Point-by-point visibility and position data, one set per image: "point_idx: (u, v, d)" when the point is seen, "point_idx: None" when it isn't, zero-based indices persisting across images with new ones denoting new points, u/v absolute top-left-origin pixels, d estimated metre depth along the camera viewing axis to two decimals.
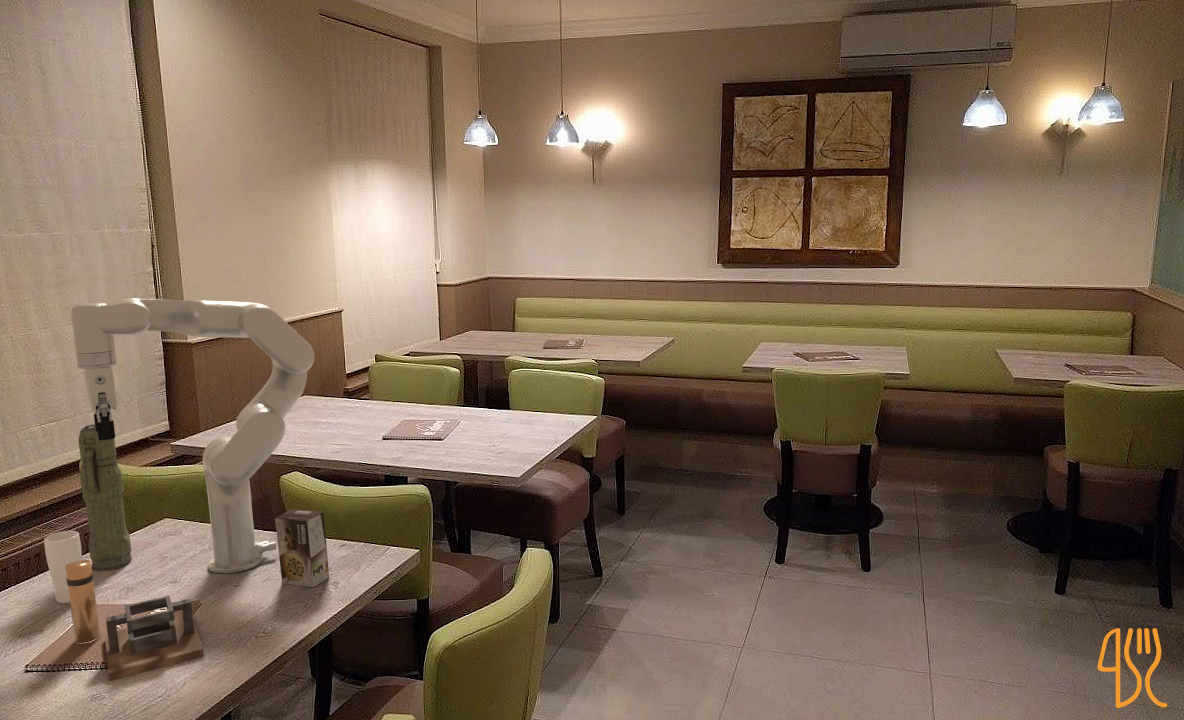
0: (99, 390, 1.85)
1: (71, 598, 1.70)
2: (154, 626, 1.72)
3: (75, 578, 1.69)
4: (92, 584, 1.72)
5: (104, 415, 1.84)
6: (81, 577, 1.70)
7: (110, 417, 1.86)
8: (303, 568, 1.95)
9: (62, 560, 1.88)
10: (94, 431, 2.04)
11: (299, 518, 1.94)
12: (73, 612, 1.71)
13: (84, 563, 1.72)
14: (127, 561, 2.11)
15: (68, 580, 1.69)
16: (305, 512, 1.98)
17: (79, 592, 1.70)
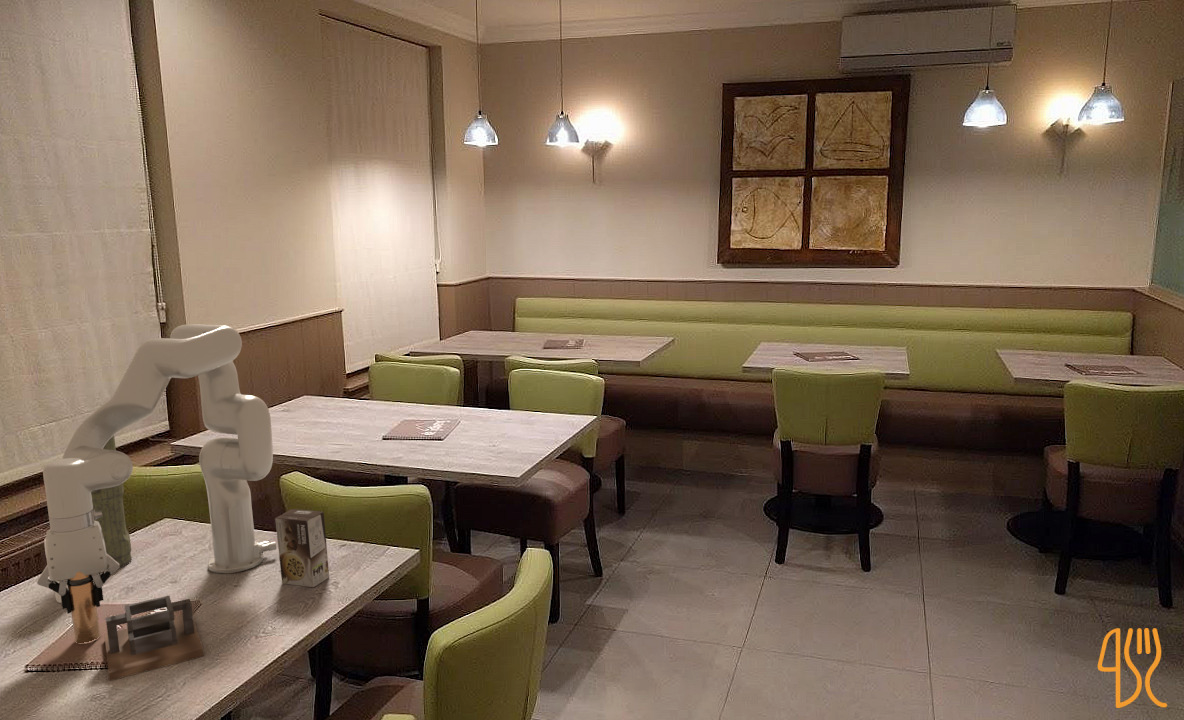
0: (104, 545, 1.73)
1: (71, 598, 1.70)
2: (154, 626, 1.72)
3: (75, 578, 1.69)
4: (92, 584, 1.72)
5: None
6: (81, 577, 1.70)
7: None
8: (303, 568, 1.95)
9: None
10: None
11: (299, 518, 1.94)
12: (73, 612, 1.71)
13: None
14: (127, 561, 2.11)
15: (68, 580, 1.69)
16: (305, 512, 1.98)
17: (79, 592, 1.70)
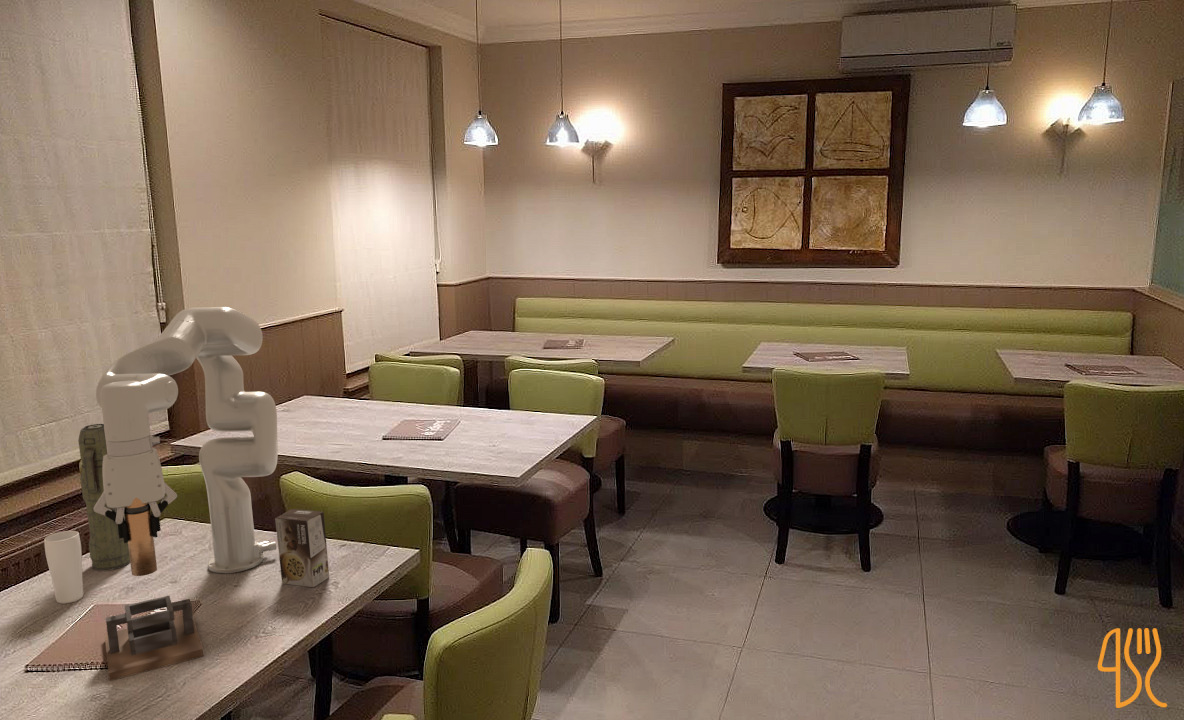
0: (162, 473, 1.65)
1: (129, 527, 1.63)
2: (154, 626, 1.72)
3: (132, 506, 1.62)
4: (149, 513, 1.65)
5: None
6: (139, 505, 1.62)
7: None
8: (303, 568, 1.95)
9: (62, 560, 1.88)
10: (94, 431, 2.04)
11: (299, 518, 1.94)
12: (130, 542, 1.63)
13: None
14: (127, 561, 2.11)
15: (125, 508, 1.62)
16: (305, 512, 1.98)
17: (137, 521, 1.63)
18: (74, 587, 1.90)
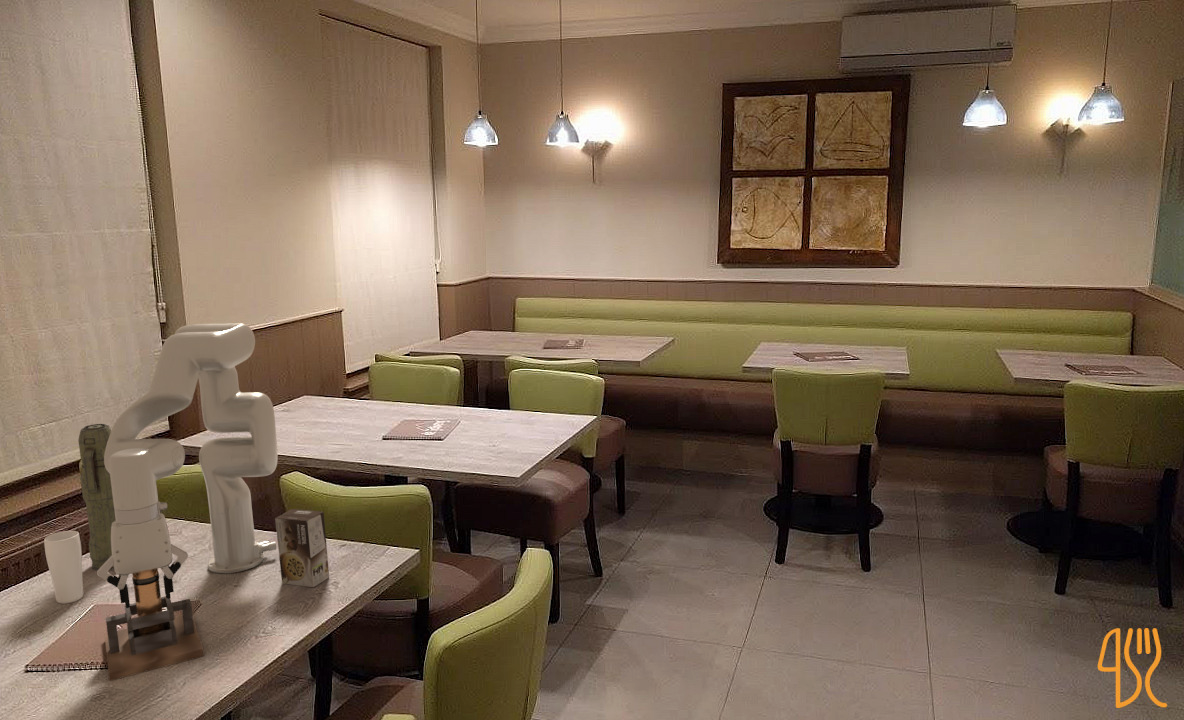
0: (169, 538, 1.68)
1: (138, 598, 1.65)
2: None
3: (142, 577, 1.65)
4: (158, 583, 1.68)
5: None
6: (148, 576, 1.65)
7: None
8: (303, 568, 1.95)
9: (62, 560, 1.88)
10: (94, 431, 2.04)
11: (299, 518, 1.94)
12: (139, 612, 1.66)
13: None
14: None
15: (134, 579, 1.65)
16: (305, 512, 1.98)
17: (145, 591, 1.65)
18: (74, 587, 1.90)
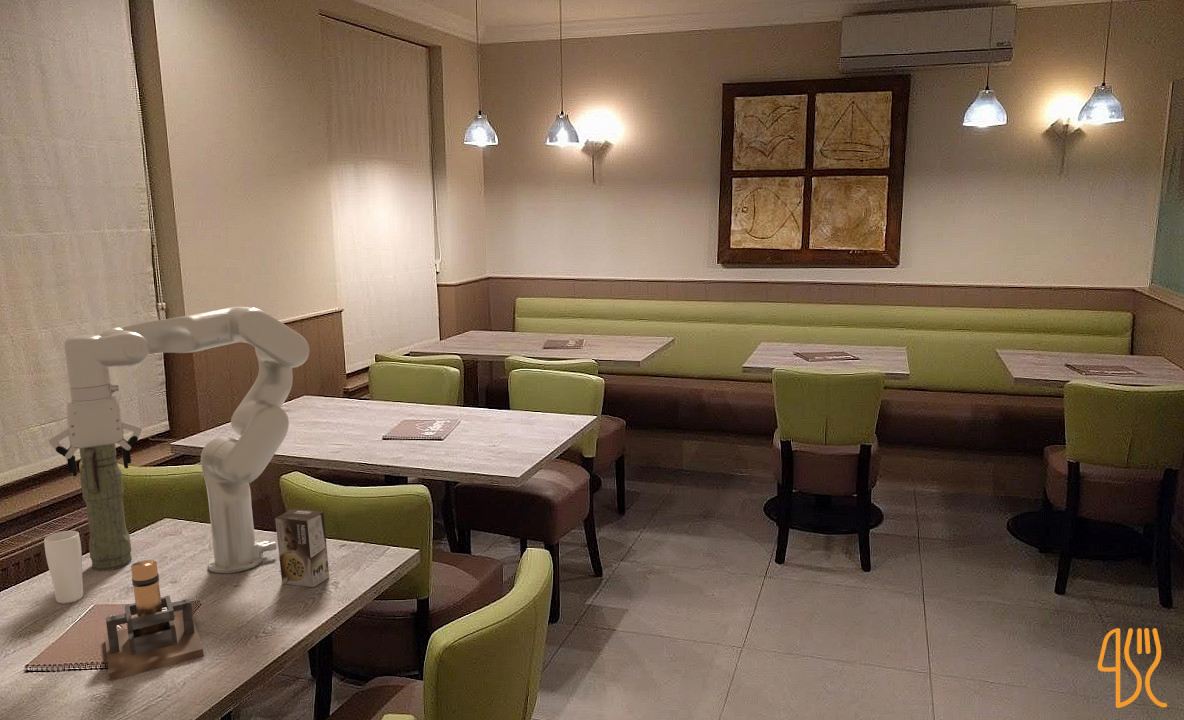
0: None
1: (137, 599, 1.65)
2: None
3: (141, 578, 1.64)
4: (158, 585, 1.67)
5: None
6: (147, 577, 1.65)
7: None
8: (303, 568, 1.95)
9: (62, 560, 1.88)
10: None
11: (299, 518, 1.94)
12: (139, 613, 1.66)
13: (150, 562, 1.67)
14: (127, 561, 2.11)
15: (134, 580, 1.65)
16: (305, 512, 1.98)
17: (145, 593, 1.65)
18: (74, 587, 1.90)
